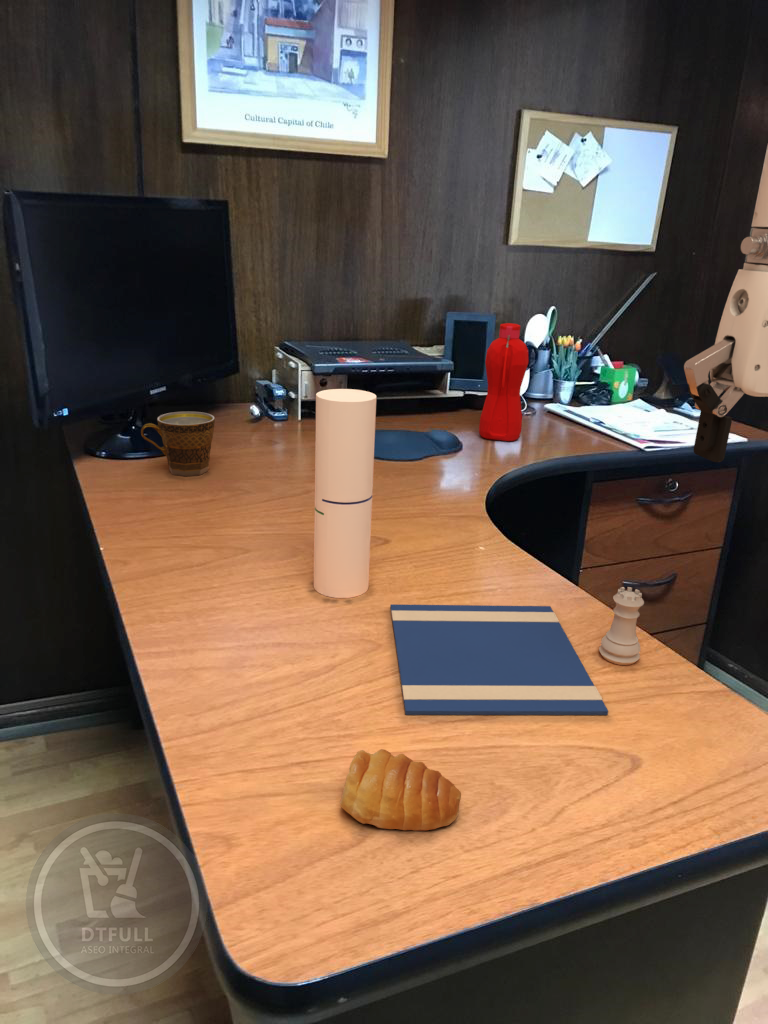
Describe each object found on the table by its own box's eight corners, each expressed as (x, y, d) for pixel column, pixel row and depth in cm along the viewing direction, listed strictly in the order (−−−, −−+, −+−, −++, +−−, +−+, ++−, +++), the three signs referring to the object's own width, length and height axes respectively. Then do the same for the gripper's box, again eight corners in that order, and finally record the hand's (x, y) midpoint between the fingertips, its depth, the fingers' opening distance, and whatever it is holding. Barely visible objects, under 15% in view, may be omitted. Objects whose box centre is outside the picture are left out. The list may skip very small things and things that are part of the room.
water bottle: (475, 441, 170) (486, 325, 161) (481, 429, 180) (490, 319, 171) (518, 445, 168) (530, 328, 159) (521, 433, 178) (533, 322, 169)
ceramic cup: (209, 461, 148) (207, 409, 144) (222, 476, 140) (220, 422, 136) (139, 467, 143) (135, 414, 139) (148, 483, 134) (144, 427, 131)
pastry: (463, 789, 65) (467, 752, 64) (452, 848, 59) (456, 809, 57) (355, 769, 67) (357, 733, 65) (334, 825, 61) (335, 786, 59)
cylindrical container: (349, 603, 96) (356, 404, 87) (302, 588, 99) (304, 395, 90) (378, 582, 102) (387, 394, 93) (333, 569, 105) (337, 386, 96)
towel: (549, 609, 96) (550, 605, 96) (607, 715, 76) (608, 710, 76) (390, 607, 95) (390, 603, 95) (405, 715, 75) (405, 709, 74)
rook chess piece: (643, 652, 87) (654, 589, 85) (635, 671, 84) (647, 605, 81) (603, 642, 89) (613, 579, 87) (594, 659, 86) (604, 594, 83)
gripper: (744, 253, 57) (701, 473, 63) (916, 259, 63) (861, 462, 69) (678, 248, 64) (644, 448, 70) (838, 254, 69) (794, 439, 75)
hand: (752, 454), depth 69 cm, fingers open, 9 cm apart
